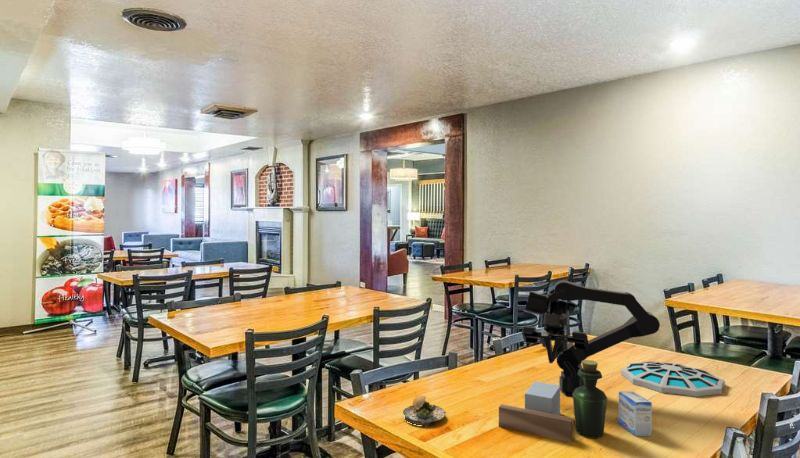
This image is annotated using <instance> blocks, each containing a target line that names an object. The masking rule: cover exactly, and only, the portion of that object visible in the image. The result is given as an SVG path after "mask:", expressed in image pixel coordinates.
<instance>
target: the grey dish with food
mask: <svg viewBox="0 0 800 458" xmlns="http://www.w3.org/2000/svg"><path fill="white" fill-rule="evenodd" d="M414 393H415V395H416V397H415V398H414V399H413V401H412V405H410V406H407V407H406V408H404V409H403V410H402V411H403V412H402V414H403V415H405V420H406V421H408V422H410V423H412V424H416V425H422V426H429V427H430V425H431V423H435V422H439V421H440V420H441V419H444V417H446V414H447V413H446V411H445V410H444V409H443V408H442V407H440V406H438V405H435V404H430V402H429V401H427V400H426V398H427V397H426V396H425V395H418V396H417V394H416V392H414Z"/></svg>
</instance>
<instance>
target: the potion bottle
mask: <svg viewBox="0 0 800 458" xmlns="http://www.w3.org/2000/svg"><path fill="white" fill-rule="evenodd" d="M598 364H599V362H598V361H595V360H589V359H585V360H583V361H582V363H581V365H582V369H579V371H578V376H580V377H582V380H583V384H584V385H583V386H580V387H578V388H576V389H575V390H574V392H573V396H572V401H573V413H574V423H575V424H574V425H575V430H576V432H577V433H578V434H579V435H580V436H583V437H584V438H585V437H586V438H591V439H598V438H601V437H603V435H604V434H605V433H604V431H605V425H606V424H605V423H606V415H607V414H606V412H607V404H608V403H607V402H608V397H607V395H606V393H605V391H603V390H602V389H600V388H598V387H597V383H598V380H600V379H603V374H602V372H601V371H600V370H599V369H598Z"/></svg>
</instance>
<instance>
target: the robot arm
mask: <svg viewBox="0 0 800 458" xmlns="http://www.w3.org/2000/svg"><path fill="white" fill-rule="evenodd" d="M584 300H585V301H591V302H599V303H604V304H612V305H618V306H622V307H623V306H624V307H625V308H626V309H627V311H628V312H629V313H630V314H631V315H632V316H631V317H630V318H629V319H628V320H627V321H625V322H624V324H622V325H620V326H618V327H615V328H613V329H611V330H609V331H606V332H604V333H603V334H602V333H601V334H600V335H598V336H595V337H593V338H591V339H589V338H588V334H587V333H586V332H582V331H581V332H580V331H572V335H569V334H568V335H567V334H566V332H567V326H569V322H570V320H569V319H570V318H569V317H570V315H569V313H575V310H576V308H577V305H576V304H574V303H573V301H584ZM567 301H568V302H567ZM548 308H549V310H548ZM548 311H549V312H548ZM524 312H526V313H530V314H534V315H538V316H543V322H542V323H543V325H544V326H543V330H544V331H543V330H541V332H540V331H538V329H537V327H534V326H523V328H522V330H521V335H522V338H523V340H524V341H523V342H525V343H526V344H532V345H533V344H534V345H535V344H537V343H539V340H540V342H541V345H542V347H543V348H545V349H546V353H547V357H548V359H547V360H548V363H549V364H553V363H554V362H555V361H556V364H557V366H558V367H559V369H561V370H562V371H560V376H559V379H558V380H559V381H558V382H559V383H558V385H559V386H560V392H562V394H564V395H565V396H566V397H573V392H574V390H575V389H576V388H578V387H580V386H583V385H584V384H583V380H582V377H580V376H578V371H579V369H582V368H583V365H582V361H583V360H587V359H588V358H589V357H591V356H594V355H596V354H598V353H600V352H602V351H605V350H607V349H609V348H612V347H614V346H616V345H618V344H620V343H622V342H625V341H627V340H629V339H632V338H633V339H634V338H642V337H646V336H650V335H653V334H656V333H658V332H659V330H660V326H661V325H660V321H659V319H658V318H657V317H656V316H655V315H654V314H652V313H651V312H649V311H647V310H646V309H645V308H644V307H643V306H642V305H641V304H640V303H639V301H638V300H637V299H636V297H635V295H633V293H630V292H628V291H627V292H626V291H625V292H621V291H614V290H608V289H602V288H601V289H600V288H593V287H586V286H583V285H580V284H578V283H575V282H572V281H568V280H565V279H562V280H558V281H557V282H556V283H555V284H554V287H553V289H552V290H550V291H549V292H547V294H546V295H545V294H541V293H537V292H535V291H533V290H530V291H529V294H528V298H527V300H526V304H525V309H524ZM553 341H554V344H553V343H552V342H553Z"/></svg>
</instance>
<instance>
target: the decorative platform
mask: <svg viewBox="0 0 800 458" xmlns="http://www.w3.org/2000/svg"><path fill="white" fill-rule="evenodd" d="M620 375H621V376H623V377H624V378H626V379H627V380H628V381H629V382H630V383H631V384H632V385H636V386H639V387H643V388H647V389H649V390H652V391H655V392H658V393H662V394H669V395H671V394H672V395H679V396H685V397H686V396H687V397H694V398H699V397H700V398H701V397H706V396H716V395H722V394H723V389H722V388H725V386H726V381H725V380H724V379H722V378H720V377H717V376H715V375H714V374H712V373H710V372H709V371H707V370H704V369H700V368H696V367H691V366H686V365H683V364H680V363H675V362H674V363H672V362H661V361H655V360H653V361H651V360H650V361H643V362H629V363H627V365H626V366H624V367H623V368H622V369H620Z"/></svg>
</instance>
